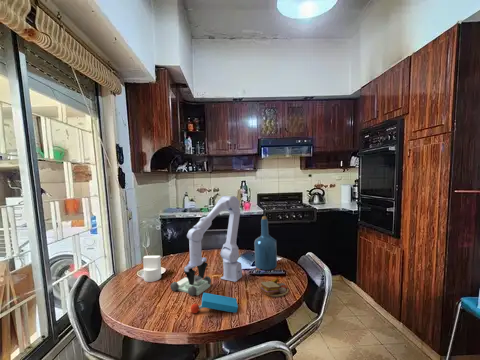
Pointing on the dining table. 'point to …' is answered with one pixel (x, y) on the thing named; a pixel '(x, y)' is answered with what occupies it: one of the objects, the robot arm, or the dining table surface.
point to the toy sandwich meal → (274, 288)
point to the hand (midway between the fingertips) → (196, 281)
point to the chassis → (190, 286)
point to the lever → (216, 303)
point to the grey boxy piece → (197, 281)
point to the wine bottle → (265, 248)
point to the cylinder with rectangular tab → (152, 268)
